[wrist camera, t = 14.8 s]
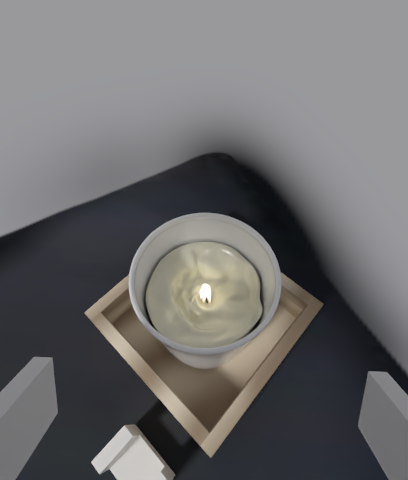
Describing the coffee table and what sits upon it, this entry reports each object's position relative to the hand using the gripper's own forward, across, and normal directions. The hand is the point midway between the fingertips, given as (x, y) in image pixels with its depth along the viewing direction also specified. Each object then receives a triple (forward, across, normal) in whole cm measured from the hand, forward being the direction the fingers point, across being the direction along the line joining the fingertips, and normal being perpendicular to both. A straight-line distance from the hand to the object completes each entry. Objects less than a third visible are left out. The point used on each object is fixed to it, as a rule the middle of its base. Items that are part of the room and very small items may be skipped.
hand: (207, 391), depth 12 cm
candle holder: (+16, 0, -6) cm, 17 cm away
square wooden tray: (+16, 0, -6) cm, 18 cm away
